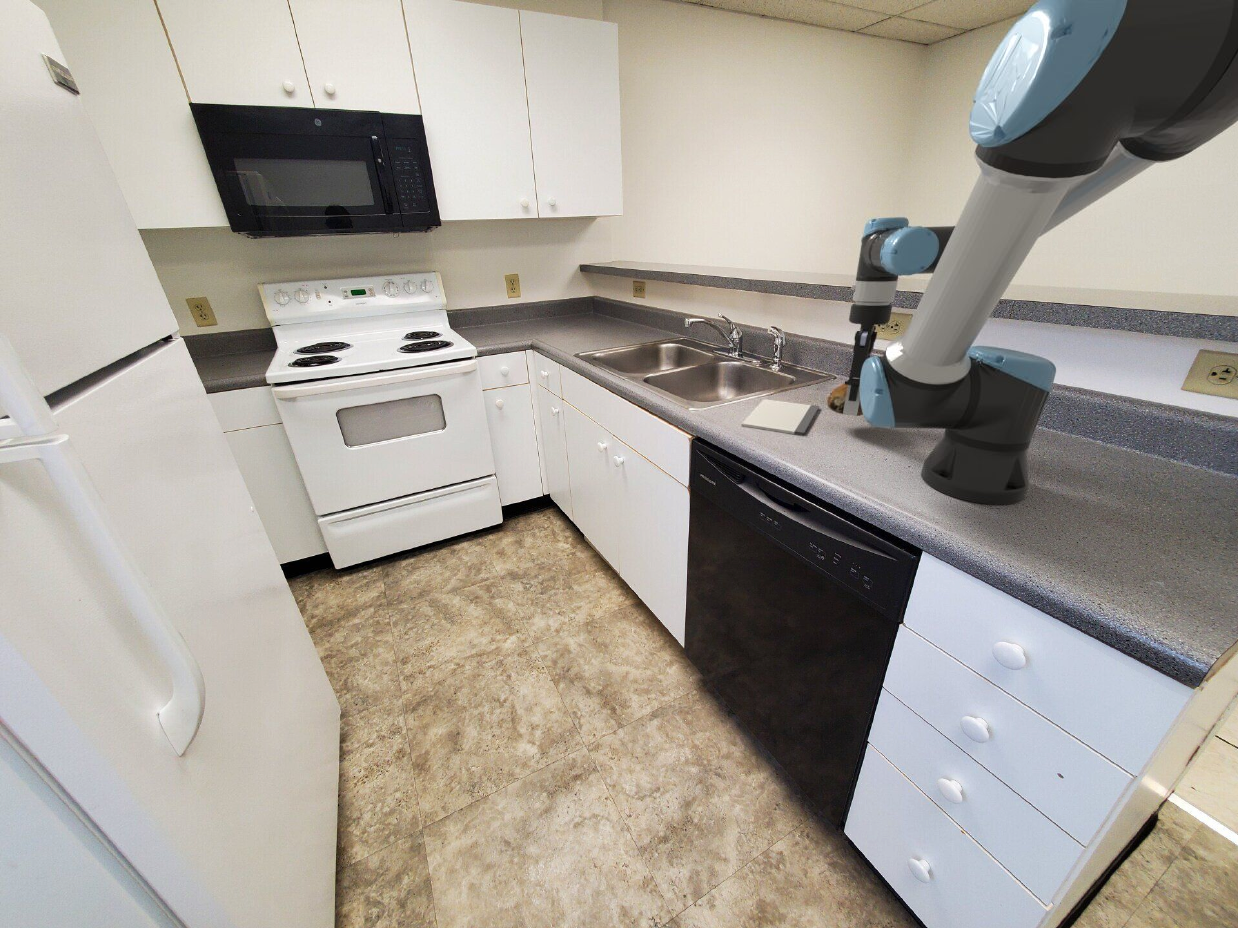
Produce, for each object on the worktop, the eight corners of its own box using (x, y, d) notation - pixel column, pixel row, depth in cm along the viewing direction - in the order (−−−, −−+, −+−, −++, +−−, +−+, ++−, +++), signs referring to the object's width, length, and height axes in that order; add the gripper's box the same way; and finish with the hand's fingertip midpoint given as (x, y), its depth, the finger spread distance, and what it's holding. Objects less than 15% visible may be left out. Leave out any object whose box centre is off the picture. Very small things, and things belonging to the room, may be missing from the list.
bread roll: (872, 432, 103) (896, 399, 100) (832, 413, 101) (855, 380, 98) (852, 417, 112) (873, 387, 109) (816, 400, 110) (836, 368, 107)
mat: (803, 435, 105) (803, 432, 105) (741, 425, 112) (741, 423, 111) (818, 408, 121) (819, 405, 120) (763, 401, 127) (763, 398, 127)
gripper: (857, 297, 107) (841, 392, 116) (845, 308, 89) (826, 420, 99) (895, 298, 104) (875, 396, 113) (890, 310, 86) (866, 425, 95)
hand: (852, 407), depth 106 cm, fingers closed on bread roll, 10 cm apart
